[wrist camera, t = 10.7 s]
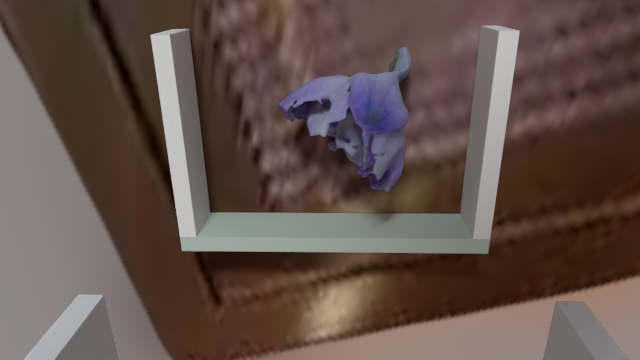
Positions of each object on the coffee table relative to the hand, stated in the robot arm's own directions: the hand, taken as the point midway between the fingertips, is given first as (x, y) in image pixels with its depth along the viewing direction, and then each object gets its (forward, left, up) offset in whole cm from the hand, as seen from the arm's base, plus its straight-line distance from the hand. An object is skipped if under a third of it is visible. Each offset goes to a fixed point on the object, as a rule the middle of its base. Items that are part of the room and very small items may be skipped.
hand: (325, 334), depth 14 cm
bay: (0, 0, -23) cm, 23 cm away
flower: (-2, +2, -23) cm, 23 cm away
